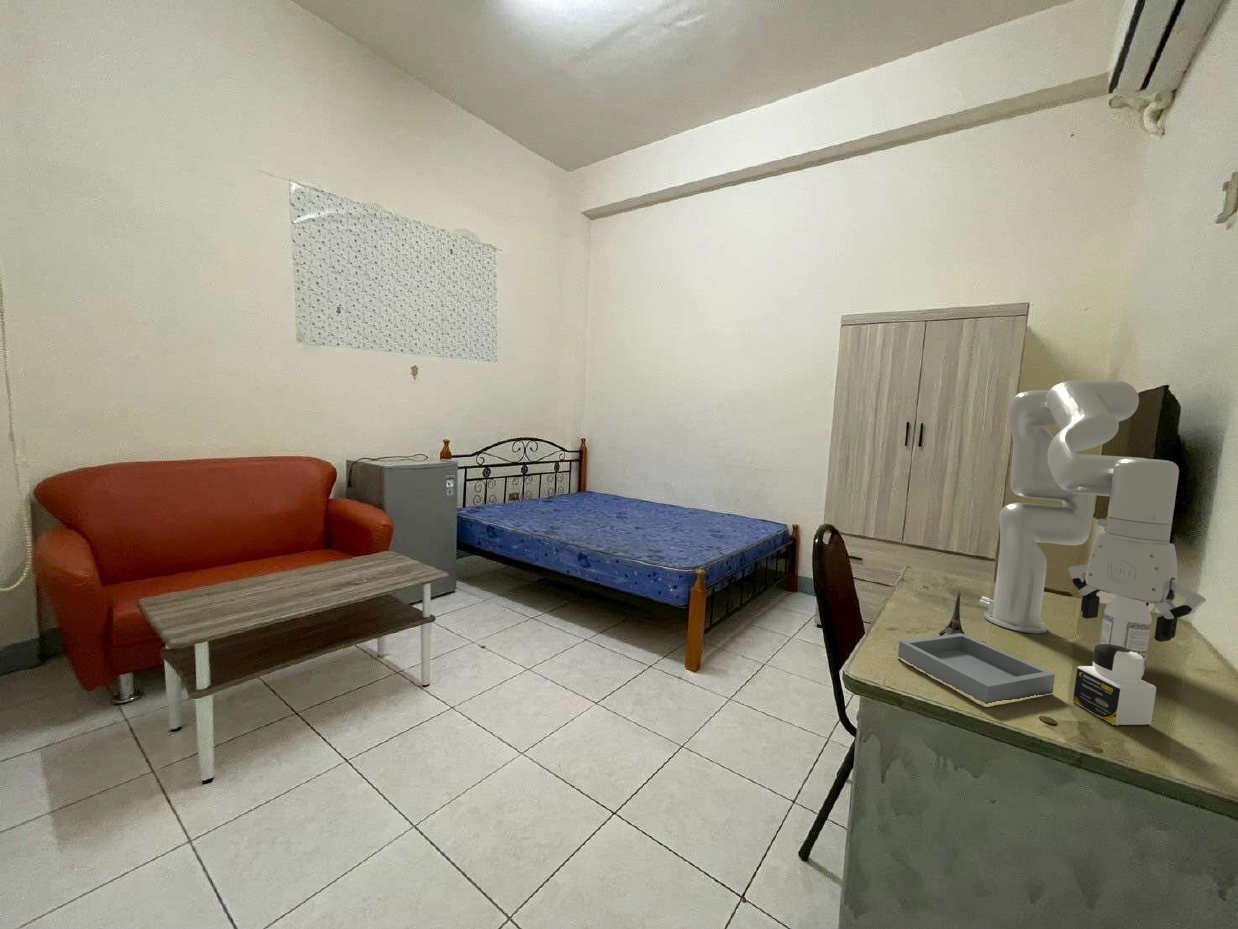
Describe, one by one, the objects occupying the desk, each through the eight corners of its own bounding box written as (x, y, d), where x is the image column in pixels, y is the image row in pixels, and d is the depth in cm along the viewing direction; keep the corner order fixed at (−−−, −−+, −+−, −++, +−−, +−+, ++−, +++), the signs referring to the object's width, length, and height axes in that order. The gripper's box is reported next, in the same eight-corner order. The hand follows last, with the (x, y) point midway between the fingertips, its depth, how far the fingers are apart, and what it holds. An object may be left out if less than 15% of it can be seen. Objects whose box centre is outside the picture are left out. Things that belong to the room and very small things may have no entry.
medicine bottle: (1071, 702, 89) (1080, 639, 88) (1106, 702, 90) (1115, 640, 88) (1114, 727, 82) (1124, 659, 81) (1151, 726, 82) (1162, 659, 81)
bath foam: (1149, 674, 101) (1163, 581, 99) (1135, 681, 98) (1149, 585, 96) (1105, 659, 107) (1117, 571, 106) (1090, 665, 104) (1103, 574, 103)
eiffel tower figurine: (967, 661, 104) (974, 601, 103) (917, 642, 112) (923, 586, 111) (993, 645, 113) (1000, 590, 112) (944, 629, 121) (950, 577, 120)
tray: (897, 659, 102) (899, 641, 102) (958, 650, 108) (960, 633, 108) (985, 708, 85) (988, 686, 85) (1052, 694, 91) (1055, 674, 91)
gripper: (1062, 521, 90) (1051, 611, 91) (1198, 543, 73) (1182, 653, 74) (1088, 521, 92) (1077, 608, 93) (1225, 542, 76) (1209, 648, 77)
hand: (1124, 628), depth 84 cm, fingers open, 9 cm apart
